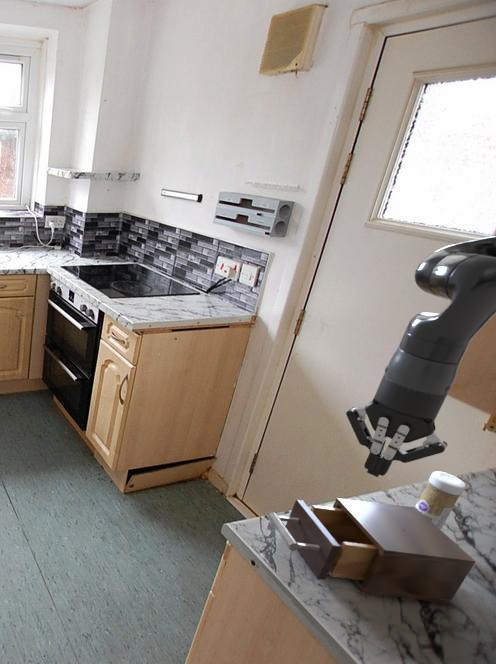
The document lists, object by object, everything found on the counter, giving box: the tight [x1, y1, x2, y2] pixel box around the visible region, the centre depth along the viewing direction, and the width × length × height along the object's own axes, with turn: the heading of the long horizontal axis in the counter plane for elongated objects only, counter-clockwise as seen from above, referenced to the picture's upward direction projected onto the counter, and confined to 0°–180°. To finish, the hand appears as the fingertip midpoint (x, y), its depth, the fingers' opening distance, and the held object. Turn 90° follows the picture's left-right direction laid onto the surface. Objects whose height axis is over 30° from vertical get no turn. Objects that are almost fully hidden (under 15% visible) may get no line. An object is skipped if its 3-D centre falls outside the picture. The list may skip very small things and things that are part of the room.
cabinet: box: [332, 497, 477, 605], centre depth 77 cm, size 14×12×9 cm
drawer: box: [267, 499, 379, 581], centre depth 78 cm, size 18×10×7 cm, turn 86°
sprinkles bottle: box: [414, 470, 467, 531], centre depth 85 cm, size 5×5×14 cm
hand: (373, 473), depth 76 cm, fingers closed
